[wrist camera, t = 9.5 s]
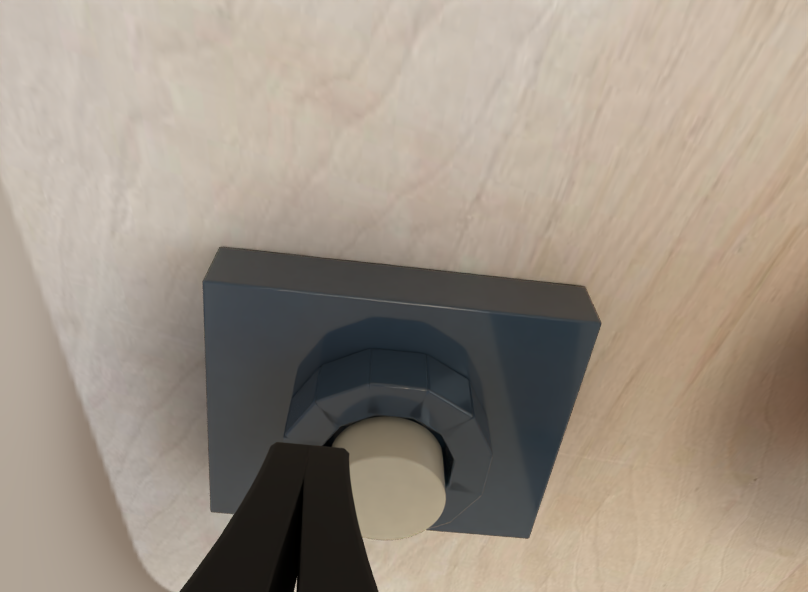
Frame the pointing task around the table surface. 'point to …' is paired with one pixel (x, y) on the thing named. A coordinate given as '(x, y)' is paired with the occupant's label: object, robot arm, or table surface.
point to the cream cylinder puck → (394, 476)
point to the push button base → (394, 372)
